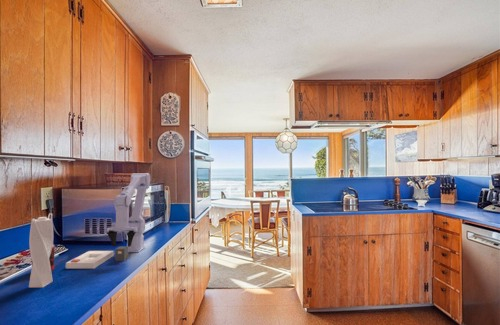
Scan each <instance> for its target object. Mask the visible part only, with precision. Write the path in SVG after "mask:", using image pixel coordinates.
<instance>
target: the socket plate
mask: <svg viewBox="0 0 500 325" xmlns="http://www.w3.org/2000/svg"><path fill="white" fill-rule="evenodd" d="M112 257H115V250H87V251H86V252H85V253H82V254H80V255H79V256H77V257H74V258H72V259H71V260H68V261H67V262H65V269H72V270H73V269H96V268H97V267H98V266H100V265H102V264H103V263H105V262H107V261H108V260H109V259H111V258H112Z"/></svg>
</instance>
